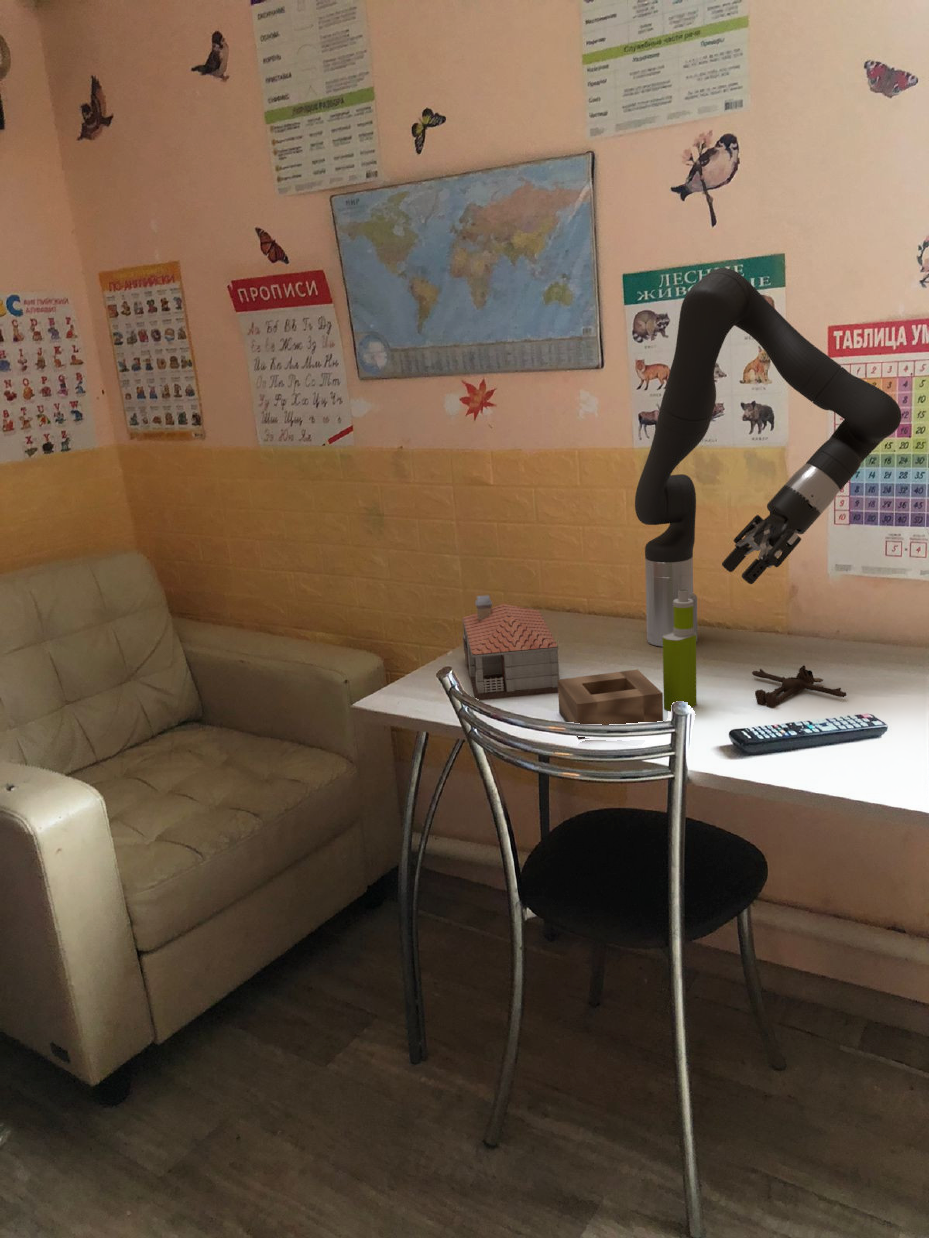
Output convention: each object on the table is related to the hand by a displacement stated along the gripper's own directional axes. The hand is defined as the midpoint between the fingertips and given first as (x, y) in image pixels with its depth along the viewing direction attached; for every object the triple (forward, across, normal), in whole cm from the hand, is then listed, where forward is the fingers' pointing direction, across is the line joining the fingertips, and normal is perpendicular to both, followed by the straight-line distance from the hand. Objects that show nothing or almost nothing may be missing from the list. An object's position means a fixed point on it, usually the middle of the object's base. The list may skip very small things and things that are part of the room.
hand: (735, 574), depth 169 cm
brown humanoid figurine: (+9, +1, +22) cm, 24 cm away
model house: (+40, -25, -9) cm, 48 cm away
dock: (+31, +3, -1) cm, 32 cm away
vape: (+22, 0, +8) cm, 24 cm away
